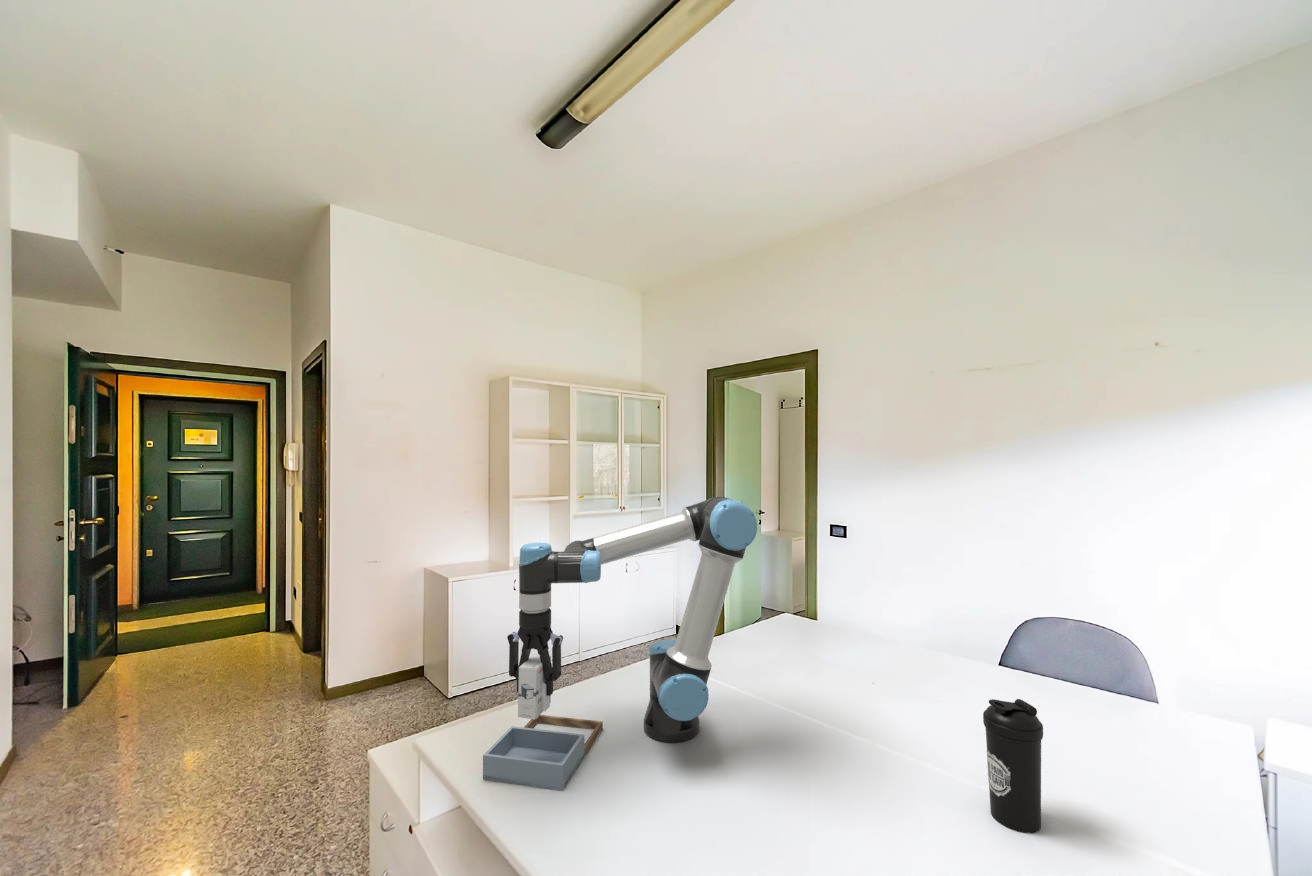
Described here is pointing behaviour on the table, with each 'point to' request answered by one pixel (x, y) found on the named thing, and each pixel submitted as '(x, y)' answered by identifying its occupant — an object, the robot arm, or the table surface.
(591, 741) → the walnut frame
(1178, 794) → the table surface
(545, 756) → the grey bin
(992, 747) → the water bottle
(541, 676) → the ink box
